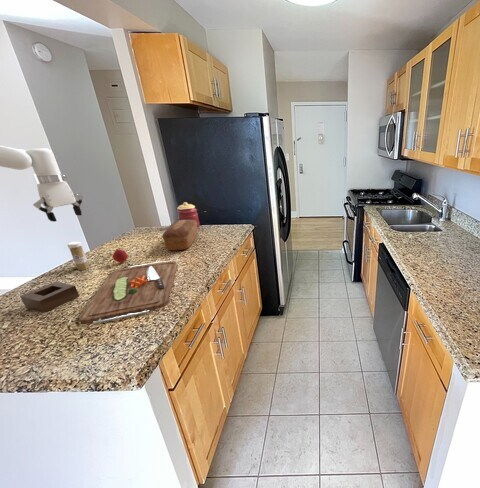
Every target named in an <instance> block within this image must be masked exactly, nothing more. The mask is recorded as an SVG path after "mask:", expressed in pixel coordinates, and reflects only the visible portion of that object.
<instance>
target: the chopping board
mask: <svg viewBox="0 0 480 488" xmlns="http://www.w3.org/2000/svg"><path fill="white" fill-rule="evenodd" d="M177 269H178V263H177V261H173V260H171V261H167V260H164V261H156V262H149V263H143V264H136V265H130V266H129V265H128V267H125V268H119V269H116V270H114V271H111V273H110V274H109V275H108V276H107V278H106V280H105V281H104V282H103V283H102V285H101V286H100V287H99V289H98V290H97V292H96V293H95V294H94V296H93V297H92V298H91V299H90V301H89V303H88V304H87V305H86V307H85V308H84V309H83V311H82V312H81V313H80V314H79V316H78V320H79V322H80V323H82V324H89V323H92V324H93V325H96V324H101V323H106V322H111V321H115V320H120V319H125V318H130V317H134V316H135V317H136V316H139V315H144V314H148V313H150V311H152V310H157V309H160V308H163V307H165V306H166V305H167V304H168V303H169V300H170V295H171V292H172V288H173V284H174V280H175V276H176V273H177Z"/></svg>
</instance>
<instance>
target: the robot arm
mask: <svg viewBox="0 0 480 488" xmlns="http://www.w3.org/2000/svg"><path fill="white" fill-rule="evenodd" d="M0 167H2V168H6V169H7V168H8V169H12V170H17V171H22V170H27V169H29V168H32V169H33V171H34V174H35V176H36V178H37V181H38V182H39V183H37V184H36V187H37V193H38V196H39V199H38V200H37V201H35V202H34V203H33V204H32V206H33V207H35V208H36V209H38V210H39V211H41V212H43V213H44V214H45V215H46V217H47V219H48V220H49V221H50V222H57V217H56V215H55V213H54V212H53V209H54V208H57V207H58V208H59V207H64V206H68V205H71V206H72V209H73V212H74V215H75V216H83V213H82V210H81V204H82V203H83V195H82V194H81V195H79V194H76V193H74V192H73V191H72V188H71V187H70V185H69V184H68V182H67V181H66V180H65V179H66V178H67V176H66V175H65V174H62V172H61V169H60V168H59V164H58V162H57V160H56V156H55V154H54V152H53V151H52V149H50V148H46V147H45V148H44V147H43V148H42V147H41V148H29V149H24V148H23V149H21V148H20V149H19V148H13V147H9V146H5V145H0Z"/></svg>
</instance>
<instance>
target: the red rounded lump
mask: <svg viewBox="0 0 480 488" xmlns="http://www.w3.org/2000/svg"><path fill="white" fill-rule="evenodd" d="M128 255H129V254H128V253H127V252H126V251H125V250H124V249H121V248H115V251H114V252H113V254H112V259H113V261H115V262H117V263H120V264H123V263H125V262H126V261H127V259H128V257H129V256H128Z"/></svg>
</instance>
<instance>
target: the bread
mask: <svg viewBox="0 0 480 488" xmlns="http://www.w3.org/2000/svg"><path fill="white" fill-rule="evenodd" d="M198 235H199V231H198V227H197V222H196V221H195V220H179V219H178V220H177V221H174V222H173V223H171V224H169V226H168V227H167V229H166V230H165V231H164V232H163V233H162V239H163V242H164V246H165V249H166V250H167V251H182V250H187V249H189V248H190V247H191V245H192V244H193V243H194V242H195V240H196V238H197V237H198Z"/></svg>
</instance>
